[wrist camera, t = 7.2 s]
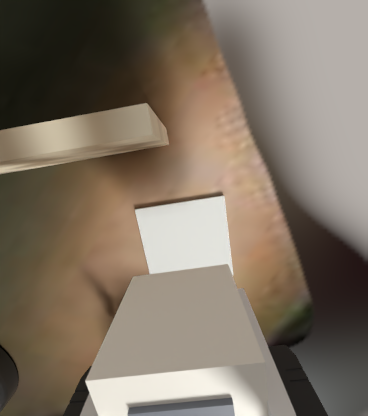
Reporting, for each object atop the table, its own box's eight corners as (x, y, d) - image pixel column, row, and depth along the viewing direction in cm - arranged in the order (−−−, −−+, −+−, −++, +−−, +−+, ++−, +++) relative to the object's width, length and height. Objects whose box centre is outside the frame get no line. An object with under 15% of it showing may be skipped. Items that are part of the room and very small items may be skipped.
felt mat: (153, 284, 25) (152, 286, 24) (135, 208, 22) (134, 209, 22) (232, 273, 24) (233, 275, 24) (223, 195, 22) (224, 195, 21)
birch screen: (-10, 175, 22) (-169, 191, 12) (-16, 161, 21) (-186, 164, 12) (169, 144, 20) (152, 134, 11) (166, 128, 20) (146, 103, 10)
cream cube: (151, 350, 14) (124, 497, 8) (133, 276, 12) (82, 387, 6) (236, 341, 14) (276, 487, 8) (228, 263, 12) (267, 368, 6)
